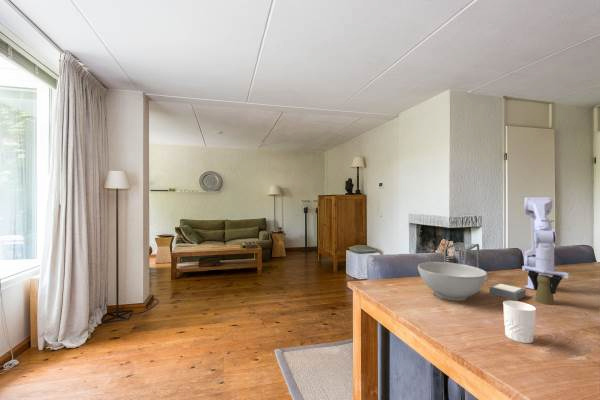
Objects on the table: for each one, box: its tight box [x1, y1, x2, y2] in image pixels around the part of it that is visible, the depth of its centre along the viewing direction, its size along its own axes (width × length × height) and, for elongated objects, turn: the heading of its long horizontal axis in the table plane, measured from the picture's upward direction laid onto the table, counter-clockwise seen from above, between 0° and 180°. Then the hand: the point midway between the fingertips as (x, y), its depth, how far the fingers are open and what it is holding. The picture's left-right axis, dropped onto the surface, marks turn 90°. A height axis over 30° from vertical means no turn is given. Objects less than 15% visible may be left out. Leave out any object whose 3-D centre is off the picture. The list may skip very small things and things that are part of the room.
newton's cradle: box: [443, 241, 480, 269], centre depth 148 cm, size 30×10×18 cm, turn 136°
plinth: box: [489, 283, 527, 301], centre depth 121 cm, size 10×10×3 cm
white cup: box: [502, 300, 537, 344], centre depth 83 cm, size 8×8×10 cm
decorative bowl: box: [417, 261, 488, 302], centre depth 119 cm, size 27×27×12 cm
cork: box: [534, 275, 555, 306], centre depth 112 cm, size 6×6×11 cm
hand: (544, 291), depth 112 cm, fingers closed on cork, 5 cm apart
